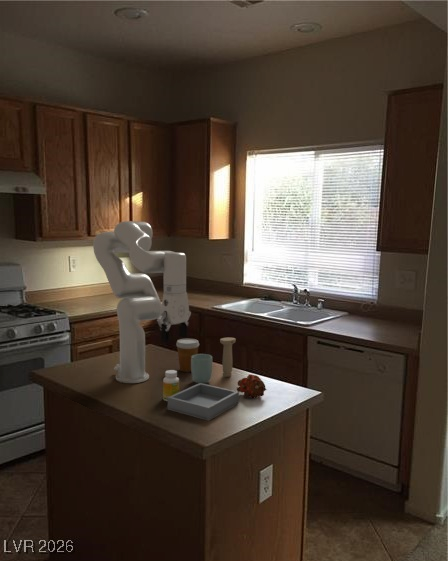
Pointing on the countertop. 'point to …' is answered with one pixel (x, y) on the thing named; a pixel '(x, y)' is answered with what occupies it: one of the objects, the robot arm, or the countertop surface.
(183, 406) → the box
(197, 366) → the cup
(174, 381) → the supplement bottle
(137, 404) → the countertop surface
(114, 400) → the countertop surface
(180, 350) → the disposable coffee cup
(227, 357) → the handle
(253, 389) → the dragon fruit
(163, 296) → the robot arm
